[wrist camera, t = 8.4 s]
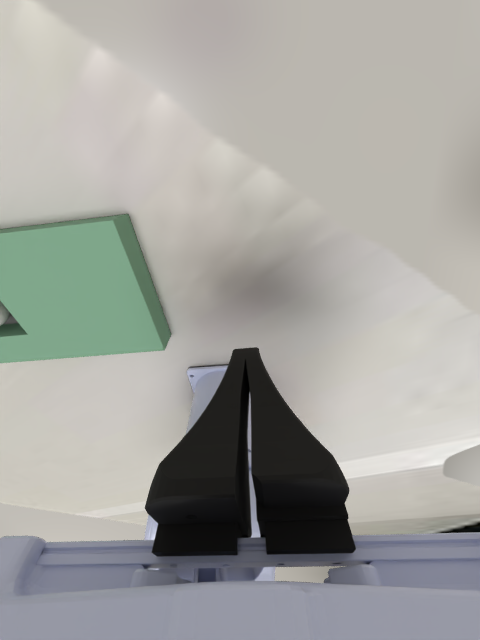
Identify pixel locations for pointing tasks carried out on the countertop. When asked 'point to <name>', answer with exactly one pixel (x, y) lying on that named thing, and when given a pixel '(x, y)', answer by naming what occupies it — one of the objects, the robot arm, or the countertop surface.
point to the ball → (3, 313)
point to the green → (77, 292)
